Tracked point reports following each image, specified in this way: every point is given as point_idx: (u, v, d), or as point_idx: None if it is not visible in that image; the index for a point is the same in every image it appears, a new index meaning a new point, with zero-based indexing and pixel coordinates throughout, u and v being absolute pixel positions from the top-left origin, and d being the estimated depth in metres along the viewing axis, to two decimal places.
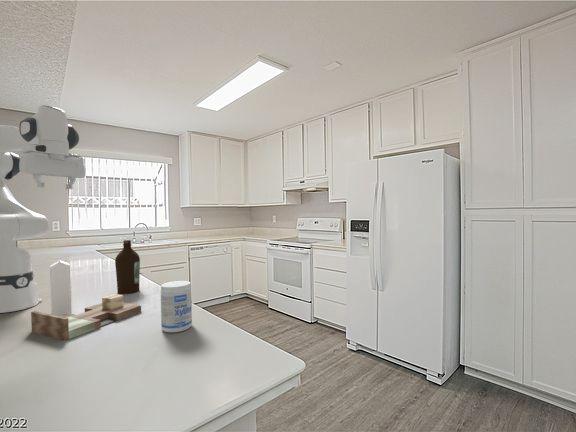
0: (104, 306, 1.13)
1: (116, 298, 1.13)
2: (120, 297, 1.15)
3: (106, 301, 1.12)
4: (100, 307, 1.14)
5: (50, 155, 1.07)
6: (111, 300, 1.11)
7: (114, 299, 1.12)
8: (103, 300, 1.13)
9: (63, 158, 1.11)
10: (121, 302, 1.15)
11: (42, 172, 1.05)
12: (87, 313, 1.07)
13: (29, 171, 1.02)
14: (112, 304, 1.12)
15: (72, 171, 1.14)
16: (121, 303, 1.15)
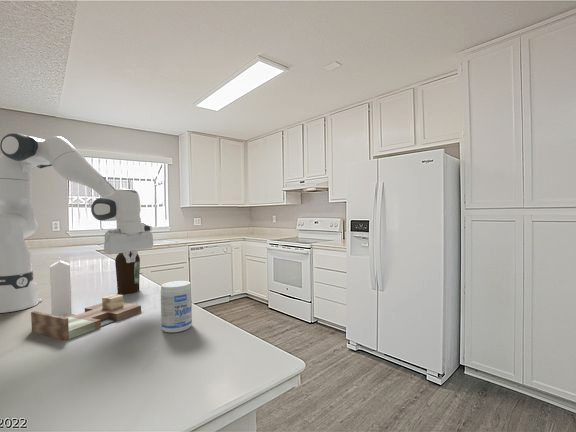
0: (104, 306, 1.13)
1: (116, 298, 1.13)
2: (120, 297, 1.15)
3: (106, 301, 1.12)
4: (100, 307, 1.14)
5: None
6: (111, 300, 1.11)
7: (114, 299, 1.12)
8: (103, 300, 1.13)
9: None
10: (121, 302, 1.15)
11: None
12: (87, 313, 1.07)
13: None
14: (112, 304, 1.12)
15: None
16: (121, 303, 1.15)
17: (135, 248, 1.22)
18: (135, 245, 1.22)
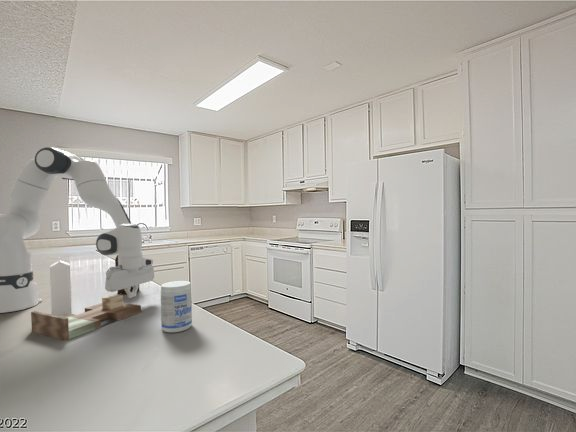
0: (104, 306, 1.13)
1: (116, 298, 1.13)
2: (120, 297, 1.15)
3: (106, 301, 1.12)
4: (100, 307, 1.14)
5: None
6: (111, 300, 1.11)
7: (114, 299, 1.12)
8: (103, 300, 1.13)
9: None
10: (121, 302, 1.15)
11: None
12: (87, 313, 1.07)
13: None
14: (112, 304, 1.12)
15: None
16: (121, 303, 1.15)
17: (136, 283, 1.22)
18: (137, 279, 1.22)
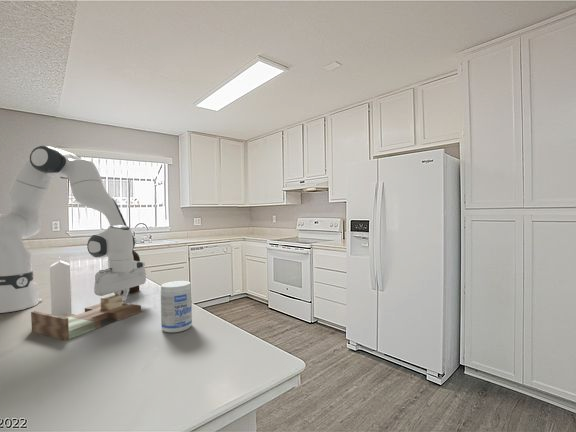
0: (102, 307, 1.12)
1: (115, 298, 1.13)
2: (119, 297, 1.14)
3: (104, 301, 1.12)
4: (100, 307, 1.14)
5: None
6: (110, 300, 1.11)
7: (113, 299, 1.12)
8: (101, 300, 1.12)
9: None
10: (120, 302, 1.14)
11: None
12: (87, 313, 1.07)
13: None
14: (111, 304, 1.11)
15: None
16: (120, 303, 1.14)
17: (127, 286, 1.18)
18: (127, 283, 1.18)
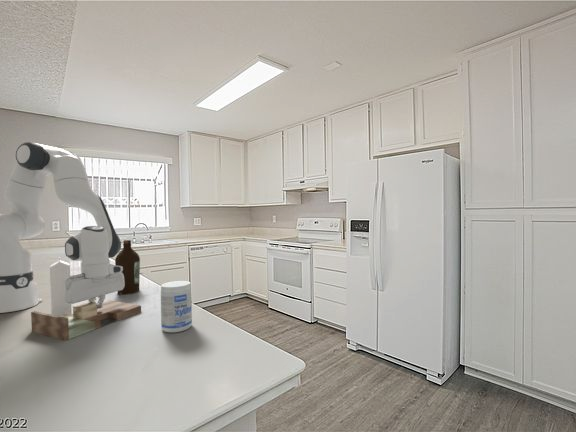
0: (75, 316, 1.03)
1: (88, 307, 1.03)
2: (93, 305, 1.05)
3: (77, 310, 1.02)
4: None
5: None
6: (82, 309, 1.02)
7: (86, 308, 1.03)
8: (74, 309, 1.03)
9: None
10: (94, 311, 1.05)
11: None
12: None
13: None
14: (84, 313, 1.02)
15: None
16: (94, 312, 1.05)
17: (102, 293, 1.09)
18: (103, 289, 1.09)
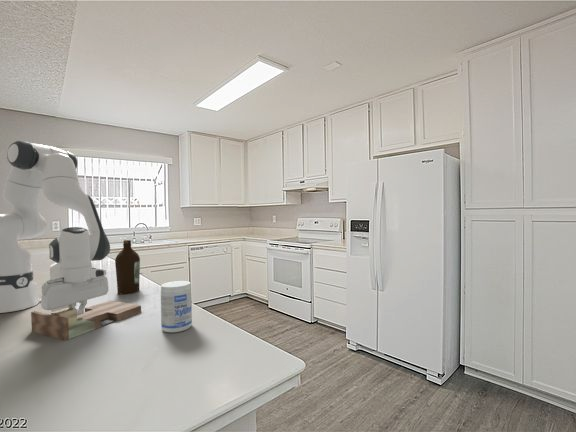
0: None
1: (67, 313, 0.97)
2: (73, 312, 0.99)
3: None
4: (100, 307, 1.14)
5: None
6: (61, 316, 0.95)
7: (65, 314, 0.96)
8: None
9: None
10: (74, 317, 0.99)
11: None
12: (87, 313, 1.07)
13: None
14: None
15: None
16: (74, 319, 0.99)
17: (83, 298, 1.03)
18: (84, 294, 1.03)
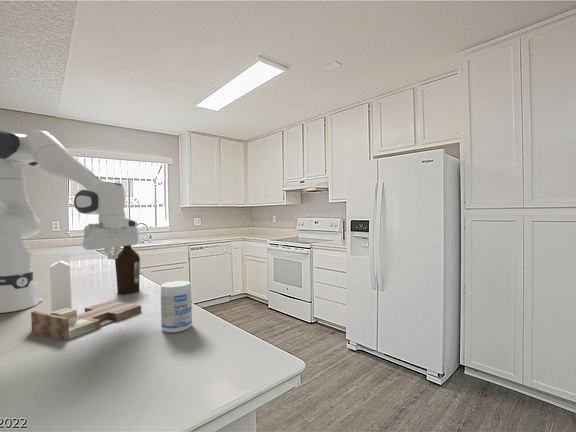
0: None
1: (67, 313, 0.97)
2: (73, 312, 0.99)
3: None
4: (100, 307, 1.14)
5: None
6: (60, 316, 0.95)
7: (64, 314, 0.96)
8: None
9: None
10: (74, 317, 0.99)
11: None
12: (87, 313, 1.07)
13: None
14: None
15: None
16: (74, 319, 0.99)
17: (118, 244, 1.15)
18: (118, 240, 1.15)
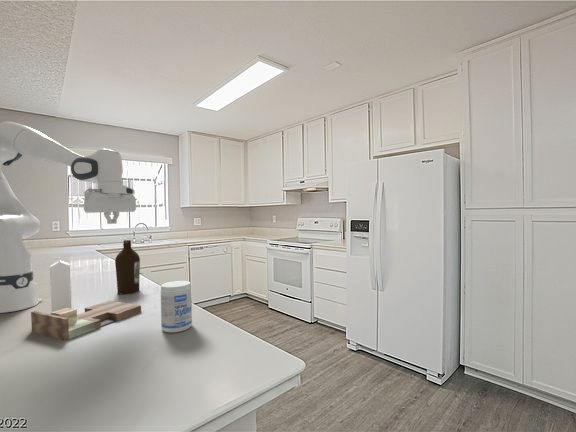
0: None
1: (67, 313, 0.97)
2: (73, 312, 0.99)
3: None
4: (100, 307, 1.14)
5: None
6: (60, 316, 0.95)
7: (64, 314, 0.96)
8: None
9: None
10: (74, 317, 0.99)
11: None
12: (87, 313, 1.07)
13: None
14: None
15: None
16: (74, 319, 0.99)
17: (116, 209, 1.21)
18: (117, 206, 1.21)
